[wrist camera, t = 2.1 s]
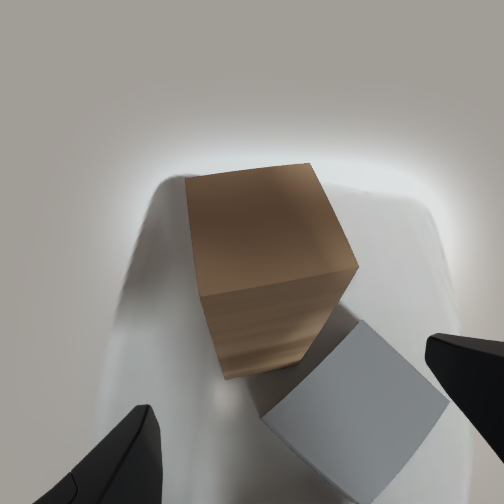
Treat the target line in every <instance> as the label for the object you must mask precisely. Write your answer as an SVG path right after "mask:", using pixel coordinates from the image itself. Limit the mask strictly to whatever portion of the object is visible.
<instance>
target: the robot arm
mask: <svg viewBox="0 0 504 504" xmlns="http://www.w3.org/2000/svg"><path fill="white" fill-rule="evenodd" d="M425 362H426V364H427V365H428V367H429V368H430V370H431V371H432V373H433V374H434V375H435V377H436V378H437V380H438V381H439V383H440V384H441V386H442V387H443V389H444V390H445V391H446V393H447V394H448V395H449V397H450V398H451V399H452V400H453V401H454V403H455V404H456V405H457V406H458V407H459V409H460V410H461V411H462V412H463V413H464V415H465V416H466V417H467V418H468V419H469V421H470V422H471V423H472V424H473V425H474V427H475V428H476V429H477V430H478V432H479V433H480V434H481V435H482V437H483V438H484V439H485V440H486V442H487V443H488V444H489V445H490V447H491V448H492V449H493V450H494V452H495V453H496V454H497V455H498V457H499V458H500V459H501V461H502V462H503V463H504V342H500V341H492V340H484V339H477V338H470V337H463V336H456V335H449V334H442V333H436V334H434V335H431V336H429V337H428V339H427V343H426V351H425ZM162 482H163V467H162V452H161V435H160V427H159V424H158V421H157V419H156V416H155V414H154V411H153V409H152V407H151V406H150V405H149V404H146V405H137V406H135V407H134V408H133V409H132V410H131V411H130V412H129V413H128V414H127V416H126V417H125V418H124V419H123V420H122V421H121V422H120V423H119V424H118V425H117V426H116V427H115V428H114V429H113V430H112V431H111V432H110V433H109V434H108V435H107V436H106V437H105V438H104V439H103V440H102V441H101V442H100V443H99V444H98V445H97V446H96V447H95V448H94V449H93V450H91V451H90V452H89V453H88V454H87V455H86V456H85V457H84V458H83V459H82V461H80V462H79V463H78V464H77V465H76V466H75V467H74V468H73V469H72V470H71V472H69V473H68V474H67V475H66V476H65V477H64V478H63V479H62V480H61V481H59V483H57V484H56V485H55V486H54V487H53V488H52V489H51V490H49V491H48V492H47V493H46V494H45V495H43V496H42V497H41V498H39V499H38V500H37V501H35V502H34V503H33V504H162Z"/></svg>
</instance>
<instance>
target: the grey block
mask: <svg viewBox="0 0 504 504" xmlns="http://www.w3.org/2000/svg"><path fill="white" fill-rule="evenodd" d="M449 402H450V401H449V400H448V399H447V398H446V397H445V396H443V395H442V394H441V393H440V392H439V391H438V390H437V389H436V388H435V387H434V386H433V385H432V384H431V383H430V382H429V381H428V380H427V379H426V378H425V377H424V376H422V375H421V374H420V373H419V372H418V371H417V370H416V369H415V368H414V367H413V366H412V365H411V364H410V363H409V362H408V361H407V360H405V359H404V358H403V357H402V356H401V355H400V354H399V353H398V352H397V351H396V350H395V349H394V348H393V347H391V346H390V345H389V344H388V343H387V342H386V341H385V340H384V339H383V338H382V337H381V336H380V335H379V334H377V333H376V332H375V331H374V330H373V329H372V328H371V327H370V326H369V325H368V324H367V323H365V322H364V321H363V320H361V321H360V322H359V323H358V324H357V325H356V326H355V328H354V329H353V330H352V331H351V332H350V333H349V334H348V335H347V336H346V337H345V338H344V339H343V341H342V342H341V343H340V344H339V345H338V346H337V347H336V348H335V349H334V350H333V351H332V352H331V353H330V354H329V355H328V356H327V357H326V358H325V359H324V360H323V361H322V362H321V363H320V364H319V365H318V366H317V367H316V368H315V369H314V370H313V371H312V372H311V373H310V374H309V375H308V376H307V377H306V378H305V379H304V380H303V381H302V382H301V383H300V384H299V385H297V386H296V387H295V388H294V389H293V390H292V391H291V392H290V393H289V394H288V395H287V396H286V397H285V398H283V399H282V400H281V401H280V402H279V403H278V404H277V405H276V406H275V407H273V408H272V409H271V410H270V411H269V412H268V413H267V414H265V415H264V416H263V417H262V418H261V420H262V421H263V422H264V423H265V424H266V425H267V426H268V427H269V428H270V429H271V430H272V431H273V432H274V433H275V434H276V435H277V436H278V437H279V438H280V439H281V440H282V441H283V442H284V443H285V444H286V445H288V446H289V447H290V448H291V449H292V450H293V451H294V452H295V453H296V454H297V455H298V456H299V457H300V458H301V459H303V460H304V461H305V462H306V463H307V464H308V465H309V466H310V467H311V468H313V469H314V470H315V471H316V472H317V473H318V474H319V475H321V476H322V477H323V478H324V479H325V480H326V481H328V482H329V483H330V484H331V485H332V486H333V487H335V488H336V489H337V490H338V491H339V492H341V493H342V494H343V495H344V496H346V497H347V498H348V499H349V500H351V501H352V502H353V503H355V504H371V503H372V502H373V500H374V499H375V498H376V497H377V496H378V495H379V494H380V493H381V492H382V491H383V490H384V489H385V488H386V487H387V485H388V484H389V483H390V482H391V481H392V480H393V479H394V477H395V476H396V475H397V474H398V473H399V472H400V470H401V469H402V468H403V467H404V466H405V464H406V463H407V462H408V461H409V459H410V458H411V457H412V456H413V454H414V453H415V452H416V450H417V449H418V448H419V446H420V445H421V444H422V442H423V441H424V440H425V438H426V437H427V435H428V434H429V433H430V431H431V430H432V428H433V427H434V425H435V424H436V423H437V421H438V420H439V418H440V417H441V415H442V413H443V412H444V410H445V409H446V407H447V406H448V404H449Z"/></svg>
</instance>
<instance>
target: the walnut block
mask: <svg viewBox="0 0 504 504" xmlns="http://www.w3.org/2000/svg"><path fill="white" fill-rule="evenodd" d="M185 184H186V194H187V203H188V212H189V221H190V230H191V238H192V246H193V253H194V261H195V268H196V276H197V283H198V290H199V296H200V300H201V303H202V307H203V310H204V314H205V317H206V321H207V324H208V327H209V331H210V334H211V337H212V340H213V344H214V347H215V350H216V353H217V356H218V359H219V363H220V366H221V369H222V372H223V375H224V378H225V380H227V379H233V378H238V377H244V376H249V375H254V374H259V373H264V372H268V371H273V370H277V369H282V368H286V367H290V366H295V365H298V363H299V362H300V360H301V359H302V357H303V356H304V354H305V353H306V351H307V350H308V349H309V347H310V346H311V344H312V343H313V341H314V339H315V338H316V336H317V335H318V333H319V332H320V330H321V329H322V327H323V326H324V324H325V322H326V321H327V319H328V318H329V316H330V315H331V313H332V311H333V310H334V308H335V307H336V305H337V303H338V302H339V300H340V298H341V297H342V295H343V293H344V292H345V290H346V288H347V287H348V285H349V283H350V282H351V280H352V278H353V277H354V275H355V273H356V271H357V270H358V268H359V265H358V263H357V261H356V258H355V256H354V254H353V252H352V249H351V247H350V245H349V243H348V240H347V238H346V236H345V234H344V232H343V229H342V227H341V225H340V223H339V221H338V219H337V217H336V215H335V212H334V210H333V208H332V206H331V204H330V202H329V200H328V198H327V196H326V194H325V192H324V190H323V188H322V186H321V184H320V182H319V180H318V178H317V176H316V174H315V172H314V170H313V168H312V166H311V165H310V163H304V164H294V165H283V166H274V167H265V168H256V169H249V170H241V171H233V172H225V173H218V174H211V175H205V176H198V177H192V178H186V179H185Z"/></svg>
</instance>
